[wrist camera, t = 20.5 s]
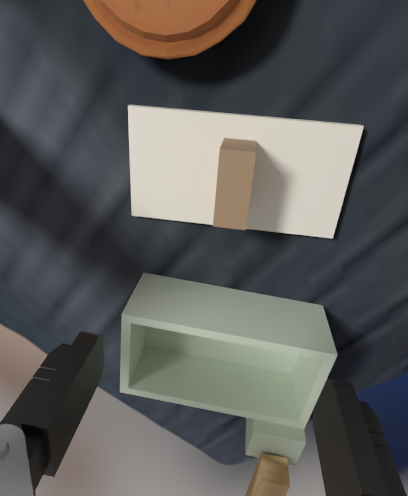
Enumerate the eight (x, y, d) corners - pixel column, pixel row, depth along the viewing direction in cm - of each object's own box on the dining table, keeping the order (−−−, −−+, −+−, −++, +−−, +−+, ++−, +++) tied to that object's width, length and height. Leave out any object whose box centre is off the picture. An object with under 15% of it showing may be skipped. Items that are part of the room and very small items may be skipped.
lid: (135, 210, 39) (115, 235, 33) (132, 104, 33) (108, 111, 28) (329, 232, 37) (344, 262, 31) (359, 123, 32) (382, 136, 26)
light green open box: (138, 366, 50) (114, 427, 41) (143, 272, 42) (116, 324, 33) (288, 396, 49) (295, 465, 40) (322, 305, 41) (341, 367, 32)
